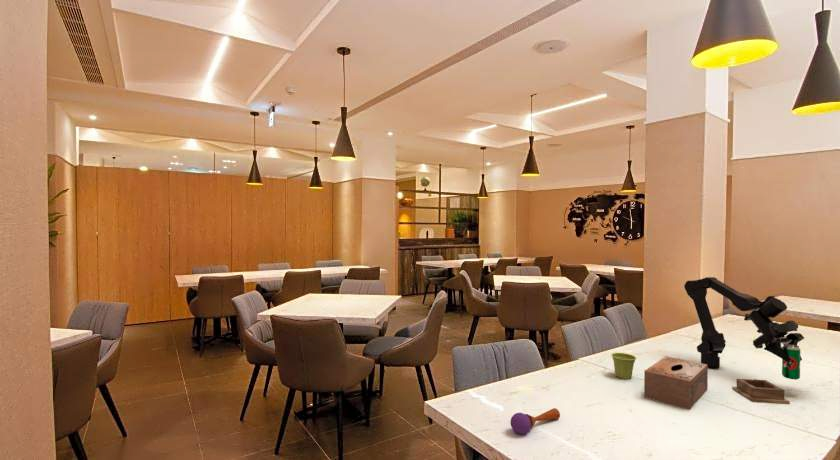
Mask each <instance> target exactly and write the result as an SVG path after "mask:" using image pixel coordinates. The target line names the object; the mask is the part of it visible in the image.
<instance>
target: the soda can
mask: <svg viewBox="0 0 840 460" xmlns="http://www.w3.org/2000/svg"><path fill="white" fill-rule="evenodd" d="M781 347H782V348H783V350H784V351H785V353H786V354H787V355H788V357H789V358H790V360H791V361H790V362H787V361H785V360H783V359H782V358H781V375H782V377H784V378H786V379H789V380H796V381H797V380H799V379H800V378H801V361H800V356H801V349H800V346H799V345H797V346H796V345H792V344H784V345H783V346H781Z"/></svg>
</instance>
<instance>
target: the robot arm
mask: <svg viewBox="0 0 840 460" xmlns="http://www.w3.org/2000/svg"><path fill="white" fill-rule="evenodd" d="M683 288H684V290H685V292H686V294H687V295H688V297H689V298H691V300H692V301H693V305H694V307H695V311H696V314H697V317H698V319H699V322H700V323H699V324H700V326H701V329H702V333H701V338H700V341H701V343H699V345H698V344H697V346H696V350H697V353H700V363H702V364H707V365H708V369H713V370H718V369H719V368H720V367H721V357H720V356H719V354H722V353H723V351H724V350H725V347H726V343H727V341H726V339H725V337H724V336H725V335H724V333H723V332H719V331H718V330H717V329H716V326H715V324H714V320H713V317H712V314H711V311H710V308H709V305H708V302H707V299H706V298H707V294H708V289H711V290H712V291H714V292H715V293H718V294H720V295H722V296H723V297H725V298H726V299H728V300H729V301H731V304H732V305H733V306H734V307H735V308H736V309H738V310H739V311H741V312H750V313H745V314H744V315H745V316H744V317H743V318H744V319H743V320H744V321H751V322H752V324H754V326H755V327H756V328H757V330H756V332H757V333H758V334H760V336H758V337H757V338H755V339H754V340H752V346H754V347H755V349H758V350H759V349H763V350H764V351H767V352H769V353H771V354H773V355H775V356H777V357H778V358H780V359H781V360H782V359H783V360H785V361H787V362H790V361H791V360H790V358H789V357H788V355H787V354H786V353H785V351H784V350H783V348H782V347H783V346H784V344H792V345H796V346H798V343H799V342H801V341H803V340H805V336H803V334H802V333H799V332H797V331H798V328H799V324H798V323H797V322H795V321H794V320H788V321H785V322H782V323H779V322H774V321H773V319H775V318H776V317H778V316H780V315H781V314H783V312H785V311H786V310H787V309H788V306H787V304H786V303H785V302H784V301H782V300H781V299H779V298H777V297H775V296H774V295H768V296H767V297H766V298H765V299H764V300H763V301H761V300H759V299H758V298H757V297H756V296H753V295H750V294H748V293H747V294H746V293H743V292H740V291H739V290H736V289H734V288H733V287H731V286H729V285H728V284H725V283H724V282H722V281H720V280H718V278H717V277H714V276H713V277H711V276H709V277H707V276H706V277H703V278H700V279H695V280H693V279H692V280H691V279H690V280H687V281H685V283H684V285H683ZM763 345H764V346H763ZM782 345H783V346H782ZM801 361H803V358H802V356H801V355H800V362H801Z"/></svg>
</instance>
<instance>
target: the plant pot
mask: <svg viewBox="0 0 840 460" xmlns="http://www.w3.org/2000/svg"><path fill="white" fill-rule="evenodd" d="M611 357H612V360H613V367H614V373H615V377H618V378H620V379H625V380H629V379H632V376H633V372H634V371H633V369H634V365H635V361H636V360H637V357H636V356H635V355H633V354H629V353H625V352H613V353H611Z"/></svg>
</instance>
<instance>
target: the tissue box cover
mask: <svg viewBox="0 0 840 460" xmlns="http://www.w3.org/2000/svg"><path fill="white" fill-rule="evenodd" d="M708 373H709V368H708V365H707V364H702V363H701V362H696V361H691V360H686V359H683V358H682V359H681V358H678V357H677V358H676V357H672V356H666V355H665V356H664V357H662V358H661V359H660V360H658V361H657V362H655V363H654V364H652V365H651V366H649V367H648V368H646V369H644V374H643V375H644V381H643V382H644V384H643V385H644V389H643V392H644V393H643V396H644V398H645V399H649V400H653V401H656V402H660V403H664V404H667V405H671V406H674V407H678V408H682V409H686V410H689V411H690V410H691V409H692V408H693V407H694V405H696V403H697V402H698V401H699V400H700V399H701V398H702V397H703V395H704V394H705V393H706V392H707V391H708V385H709V384H708V383H709V382H708V379H709V378H708Z"/></svg>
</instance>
